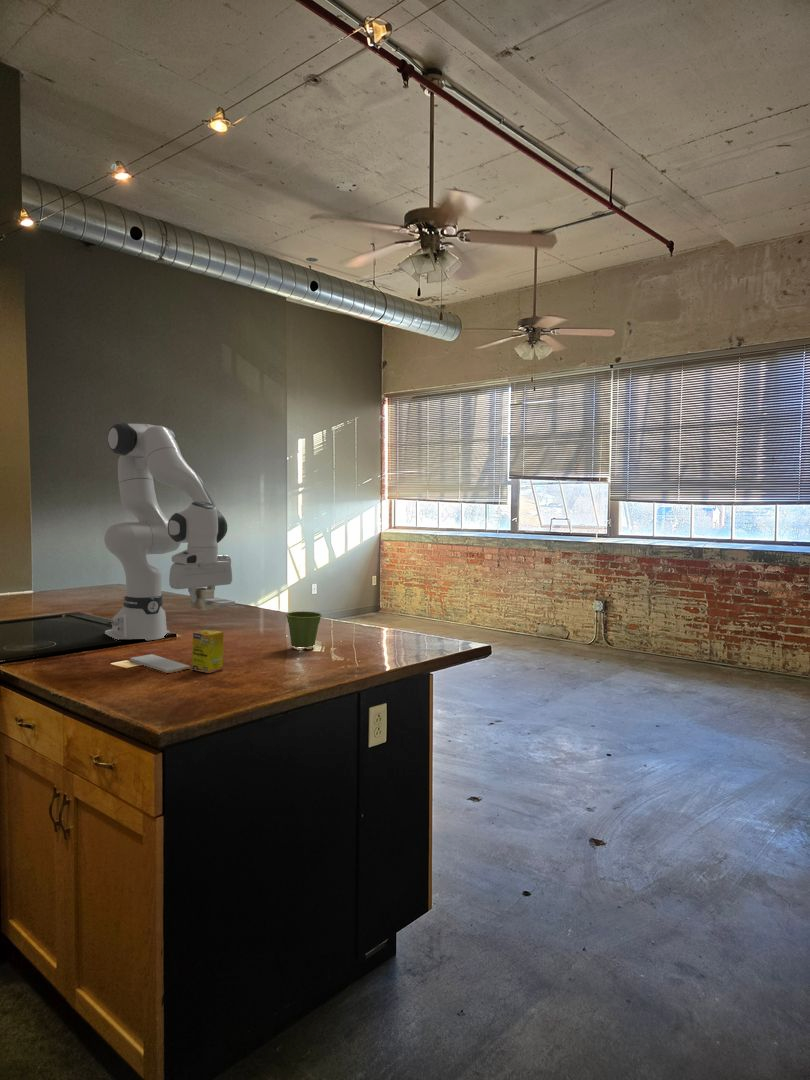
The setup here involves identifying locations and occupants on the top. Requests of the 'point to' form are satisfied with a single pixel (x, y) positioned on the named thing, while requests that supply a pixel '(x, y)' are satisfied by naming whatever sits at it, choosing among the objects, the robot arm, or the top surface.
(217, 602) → the grey elongated block
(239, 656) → the top surface
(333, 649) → the top surface
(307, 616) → the plant pot
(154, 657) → the rest mat
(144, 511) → the robot arm
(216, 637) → the supplement box
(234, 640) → the top surface
